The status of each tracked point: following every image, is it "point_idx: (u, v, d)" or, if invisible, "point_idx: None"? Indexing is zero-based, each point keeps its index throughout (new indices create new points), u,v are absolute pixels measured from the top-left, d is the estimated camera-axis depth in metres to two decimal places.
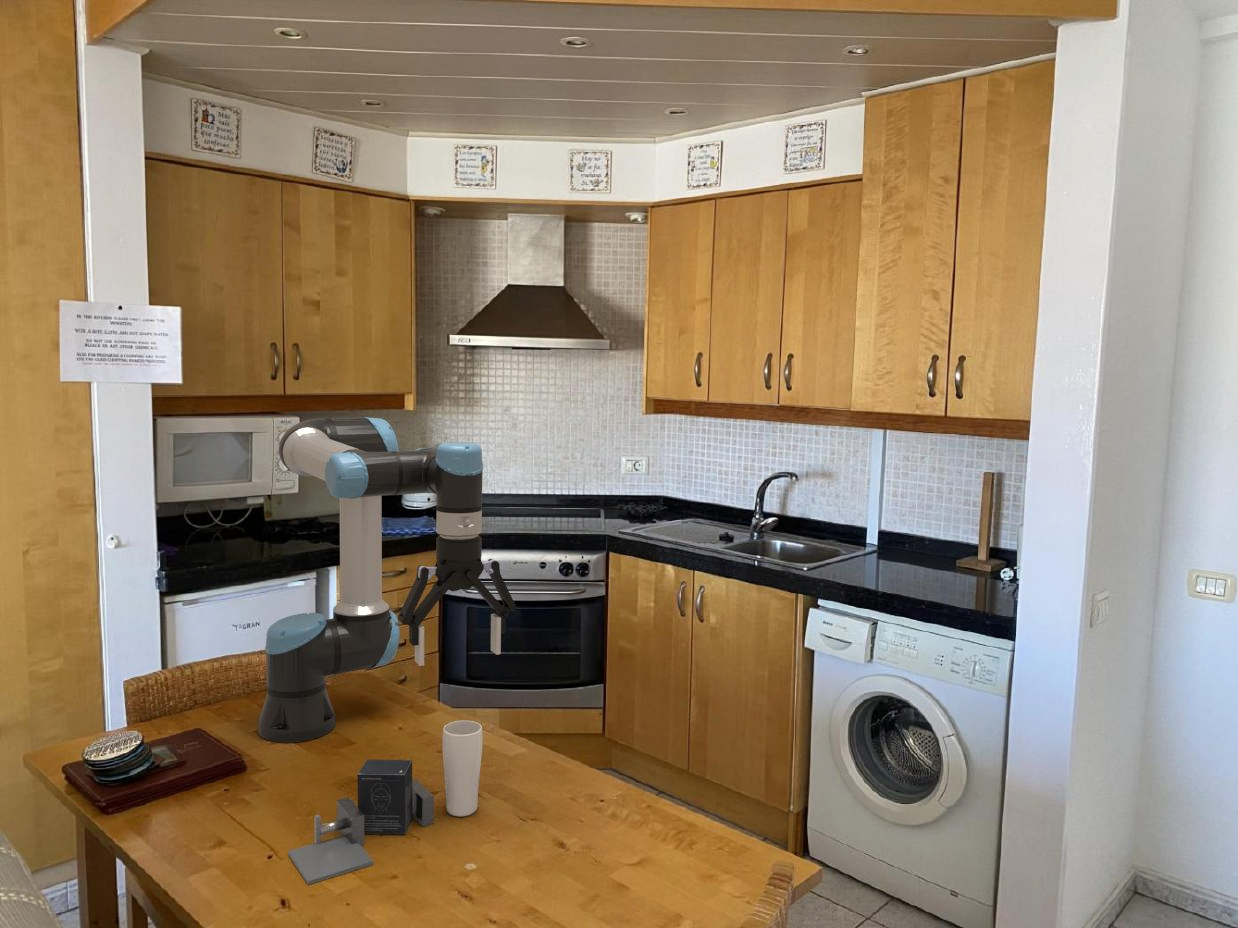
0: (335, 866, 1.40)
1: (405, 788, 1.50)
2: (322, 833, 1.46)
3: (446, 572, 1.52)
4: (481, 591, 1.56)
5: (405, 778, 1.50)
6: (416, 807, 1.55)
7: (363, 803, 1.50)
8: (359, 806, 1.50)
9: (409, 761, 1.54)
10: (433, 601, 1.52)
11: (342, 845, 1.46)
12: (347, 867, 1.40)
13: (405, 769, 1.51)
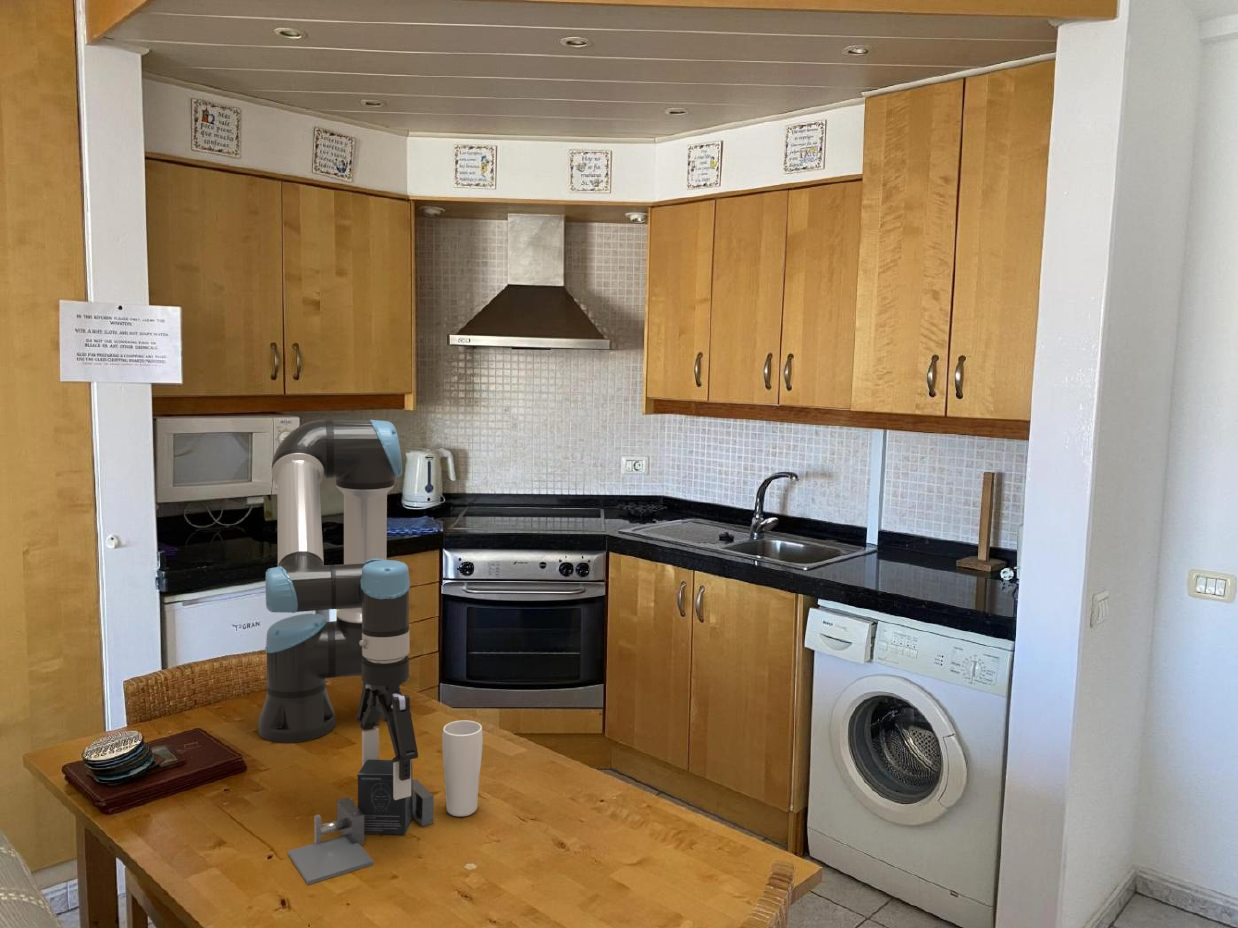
0: (335, 866, 1.40)
1: None
2: (322, 833, 1.46)
3: (373, 688, 1.52)
4: (387, 723, 1.47)
5: None
6: (416, 807, 1.55)
7: (363, 803, 1.50)
8: (359, 806, 1.50)
9: None
10: (367, 711, 1.54)
11: (342, 845, 1.46)
12: (347, 867, 1.40)
13: None
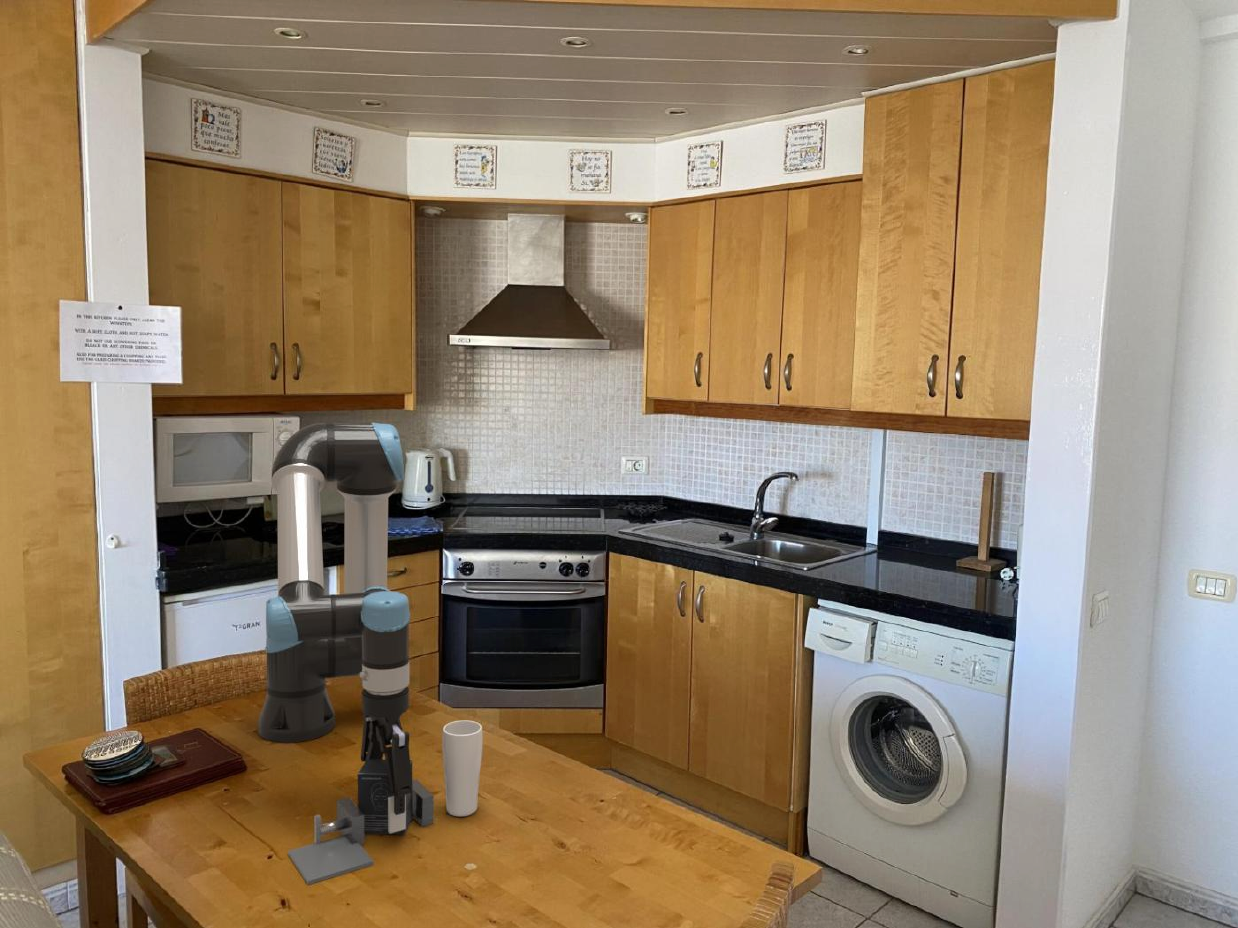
0: (335, 866, 1.40)
1: None
2: (322, 833, 1.46)
3: (373, 717, 1.52)
4: (385, 755, 1.49)
5: None
6: (416, 807, 1.55)
7: (363, 803, 1.50)
8: (359, 806, 1.50)
9: None
10: (370, 747, 1.54)
11: (342, 845, 1.46)
12: (347, 867, 1.40)
13: None
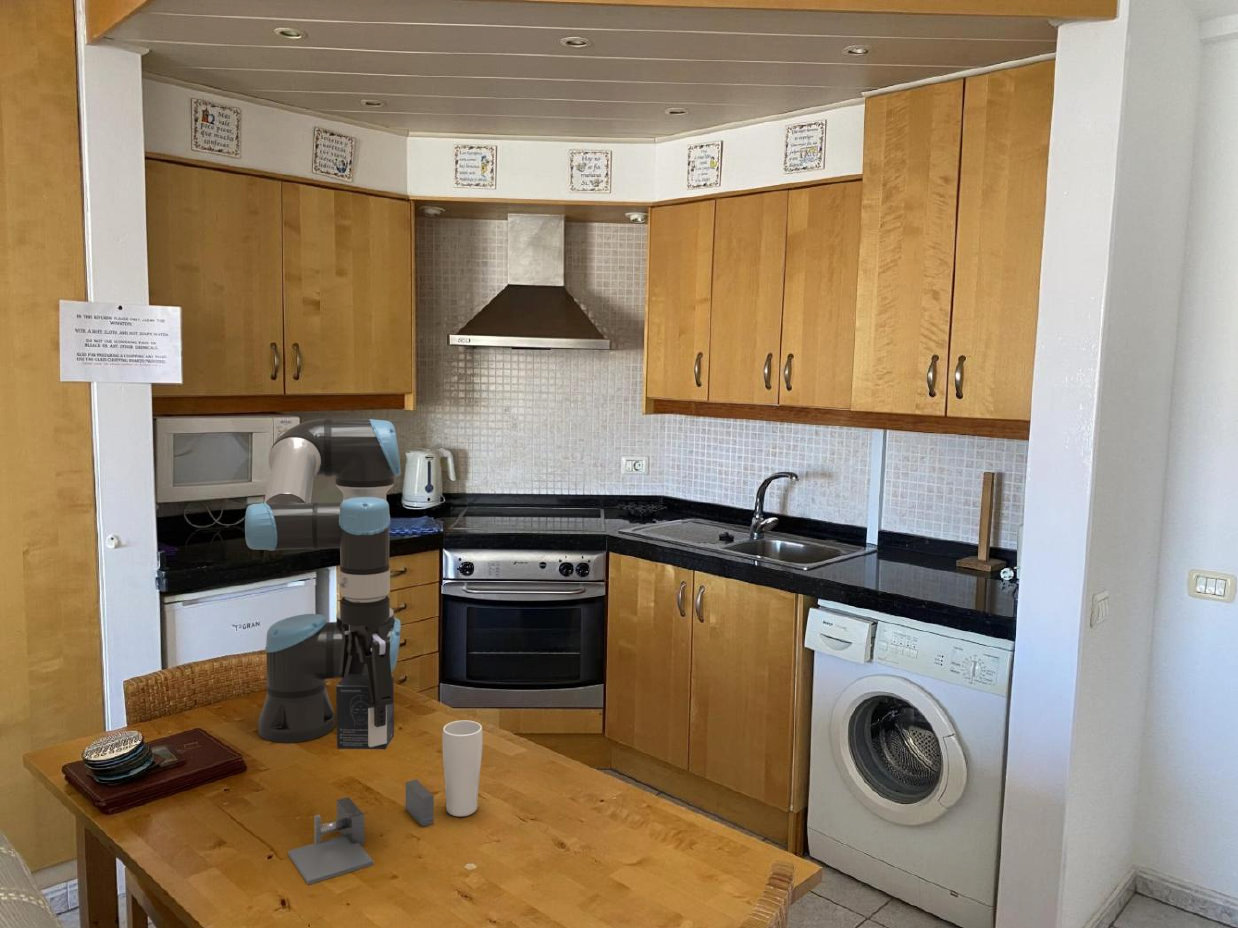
0: (335, 866, 1.40)
1: None
2: (322, 833, 1.46)
3: (352, 629, 1.46)
4: (364, 665, 1.43)
5: None
6: (416, 807, 1.55)
7: (342, 717, 1.44)
8: (338, 720, 1.44)
9: None
10: (349, 661, 1.48)
11: (342, 845, 1.46)
12: (347, 867, 1.40)
13: None
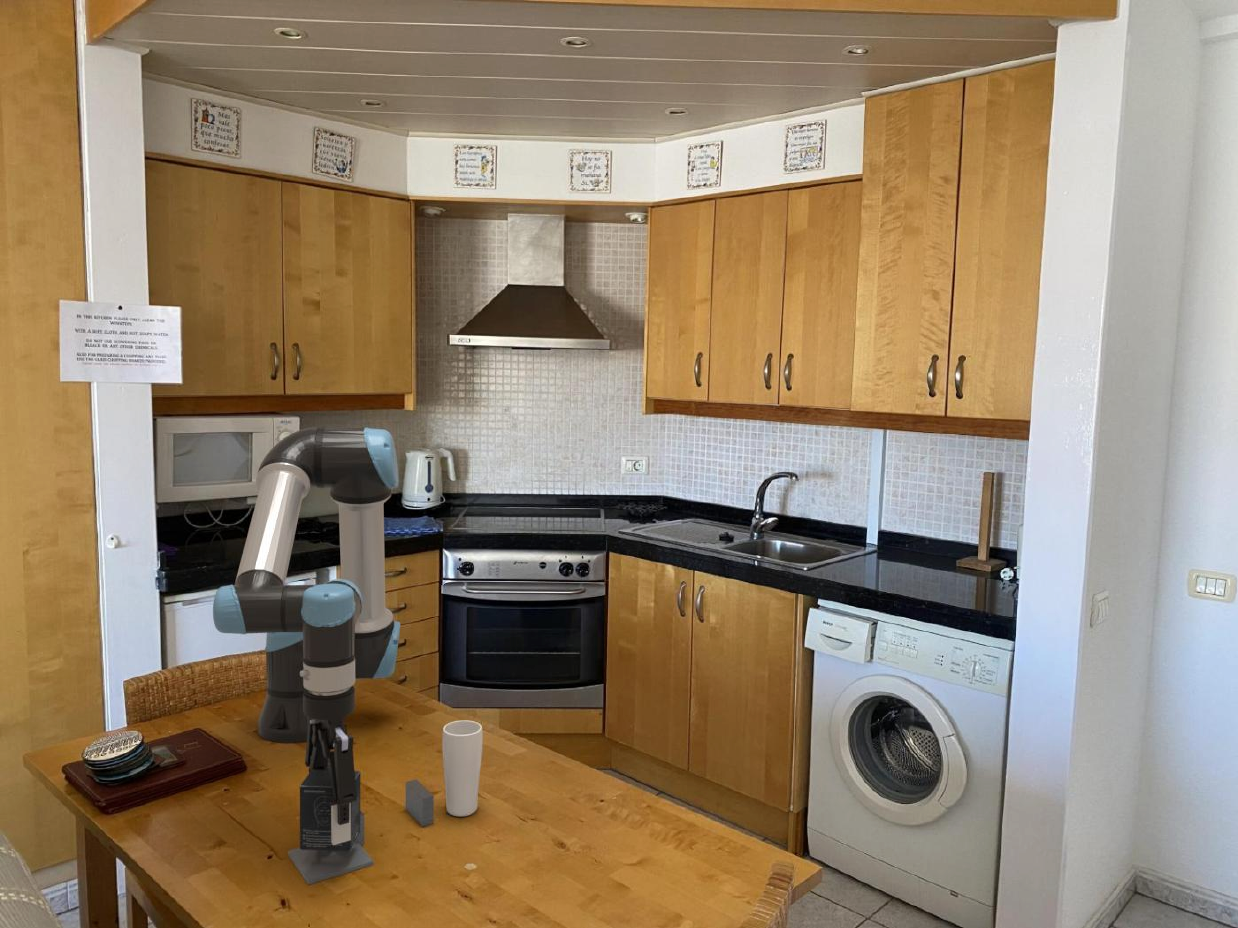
0: (335, 866, 1.40)
1: (351, 802, 1.39)
2: None
3: (316, 720, 1.42)
4: (328, 760, 1.38)
5: None
6: (416, 807, 1.55)
7: (305, 817, 1.39)
8: (301, 820, 1.39)
9: (357, 772, 1.43)
10: (313, 751, 1.43)
11: None
12: (347, 867, 1.40)
13: None
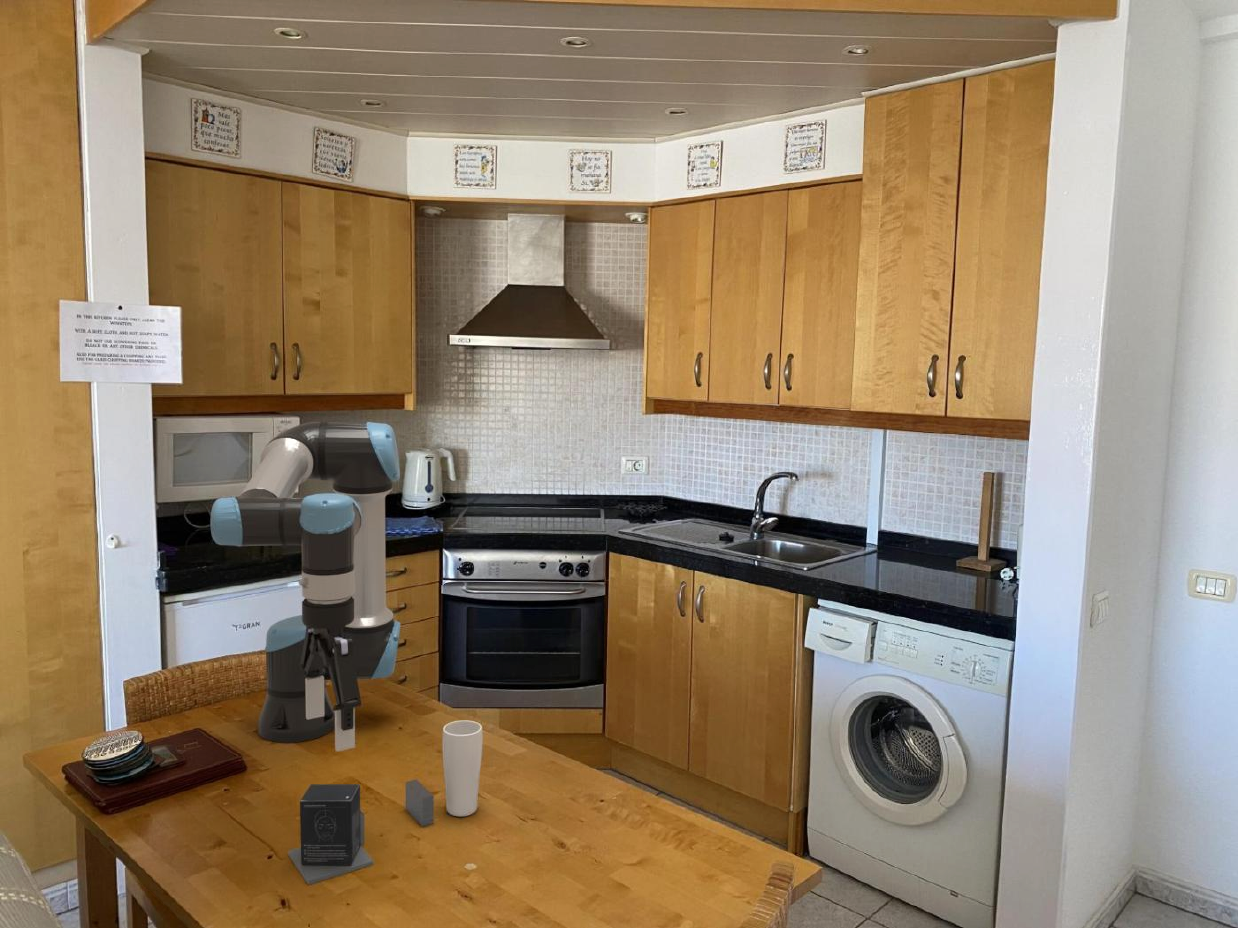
0: (335, 866, 1.40)
1: (352, 815, 1.40)
2: None
3: (315, 632, 1.40)
4: (329, 668, 1.36)
5: (352, 804, 1.40)
6: (416, 807, 1.55)
7: (306, 832, 1.39)
8: (302, 835, 1.39)
9: (356, 785, 1.44)
10: (310, 657, 1.42)
11: None
12: (347, 867, 1.40)
13: (352, 794, 1.41)
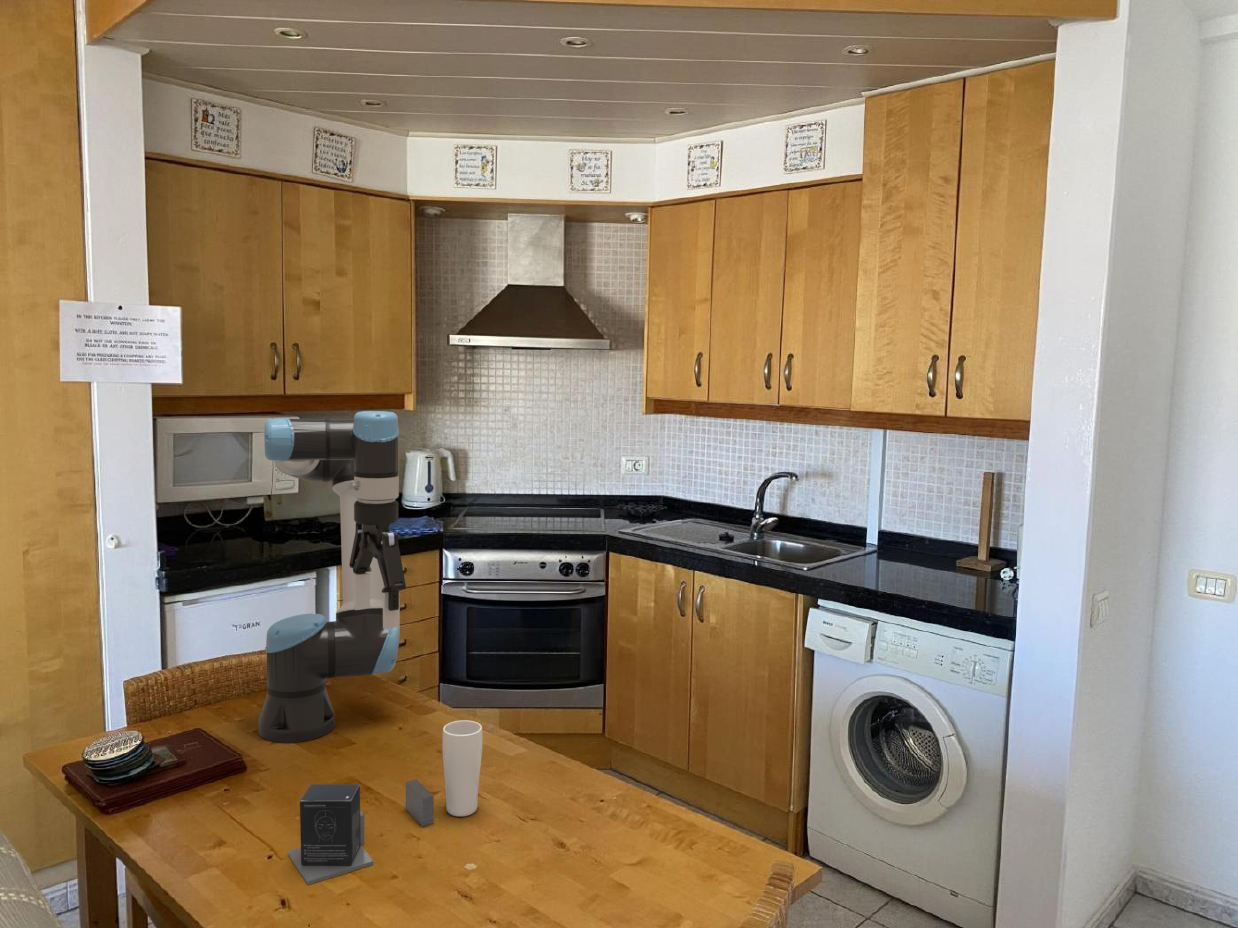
0: (335, 866, 1.40)
1: (352, 815, 1.40)
2: None
3: (364, 531, 1.63)
4: (377, 559, 1.58)
5: (352, 804, 1.40)
6: (416, 807, 1.55)
7: (306, 832, 1.39)
8: (302, 835, 1.39)
9: (356, 785, 1.44)
10: (359, 554, 1.65)
11: None
12: (347, 867, 1.40)
13: (352, 794, 1.41)
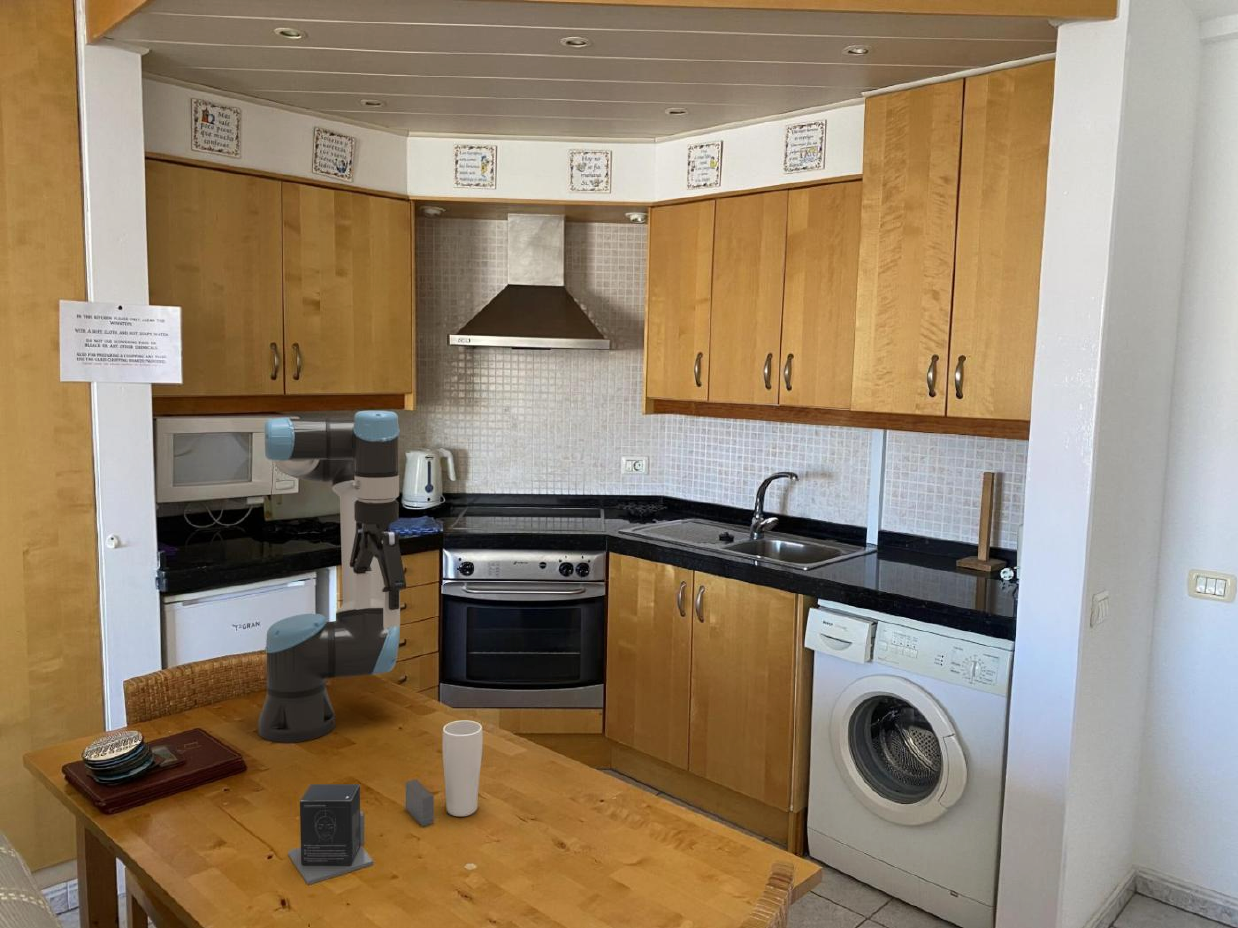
0: (335, 866, 1.40)
1: (352, 815, 1.40)
2: None
3: (365, 530, 1.63)
4: (378, 558, 1.58)
5: (352, 804, 1.40)
6: (416, 807, 1.55)
7: (306, 832, 1.39)
8: (302, 835, 1.39)
9: (356, 785, 1.44)
10: (360, 554, 1.65)
11: None
12: (347, 867, 1.40)
13: (352, 794, 1.41)
